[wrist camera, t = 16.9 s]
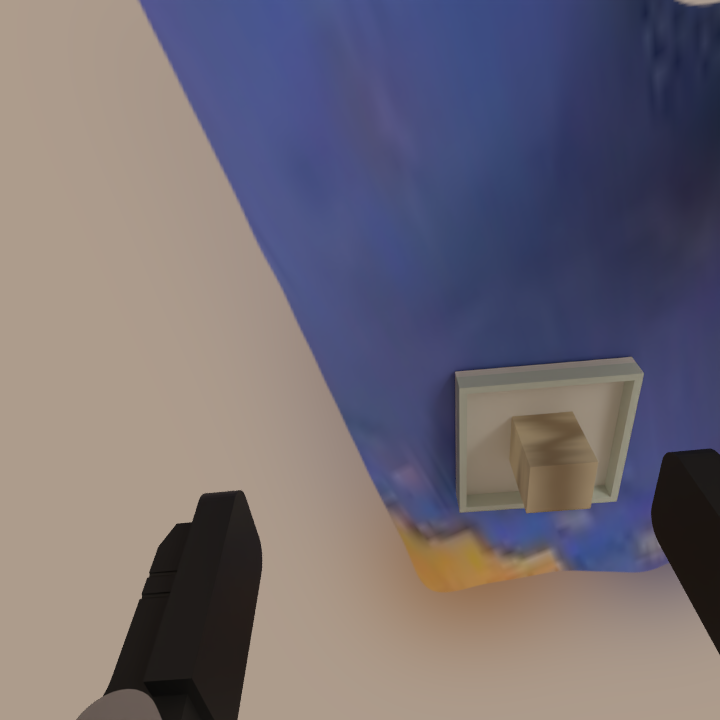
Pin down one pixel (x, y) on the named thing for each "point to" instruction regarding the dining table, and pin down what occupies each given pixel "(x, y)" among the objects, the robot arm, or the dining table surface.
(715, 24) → the dining table surface
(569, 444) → the birch block
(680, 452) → the robot arm
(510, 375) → the dish
